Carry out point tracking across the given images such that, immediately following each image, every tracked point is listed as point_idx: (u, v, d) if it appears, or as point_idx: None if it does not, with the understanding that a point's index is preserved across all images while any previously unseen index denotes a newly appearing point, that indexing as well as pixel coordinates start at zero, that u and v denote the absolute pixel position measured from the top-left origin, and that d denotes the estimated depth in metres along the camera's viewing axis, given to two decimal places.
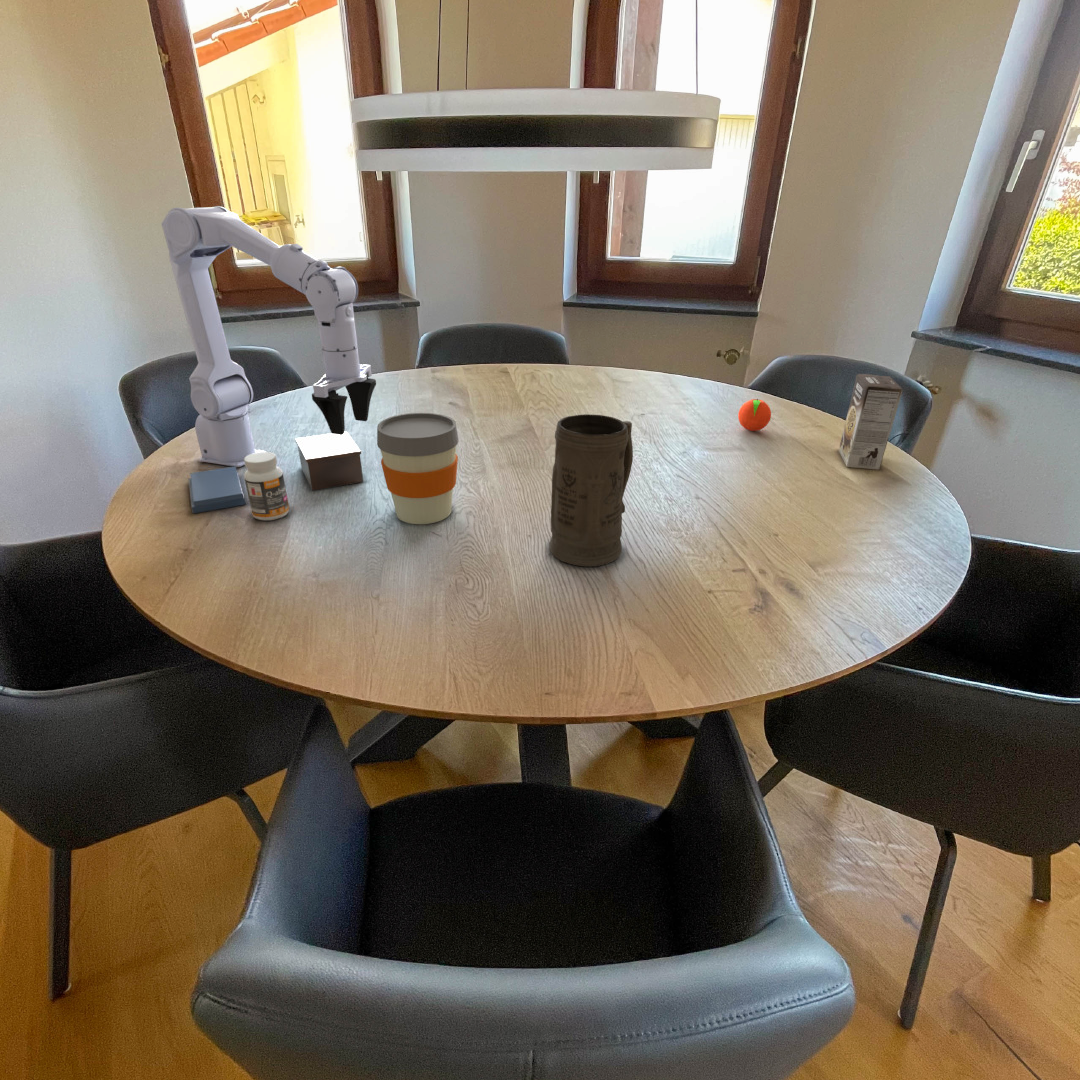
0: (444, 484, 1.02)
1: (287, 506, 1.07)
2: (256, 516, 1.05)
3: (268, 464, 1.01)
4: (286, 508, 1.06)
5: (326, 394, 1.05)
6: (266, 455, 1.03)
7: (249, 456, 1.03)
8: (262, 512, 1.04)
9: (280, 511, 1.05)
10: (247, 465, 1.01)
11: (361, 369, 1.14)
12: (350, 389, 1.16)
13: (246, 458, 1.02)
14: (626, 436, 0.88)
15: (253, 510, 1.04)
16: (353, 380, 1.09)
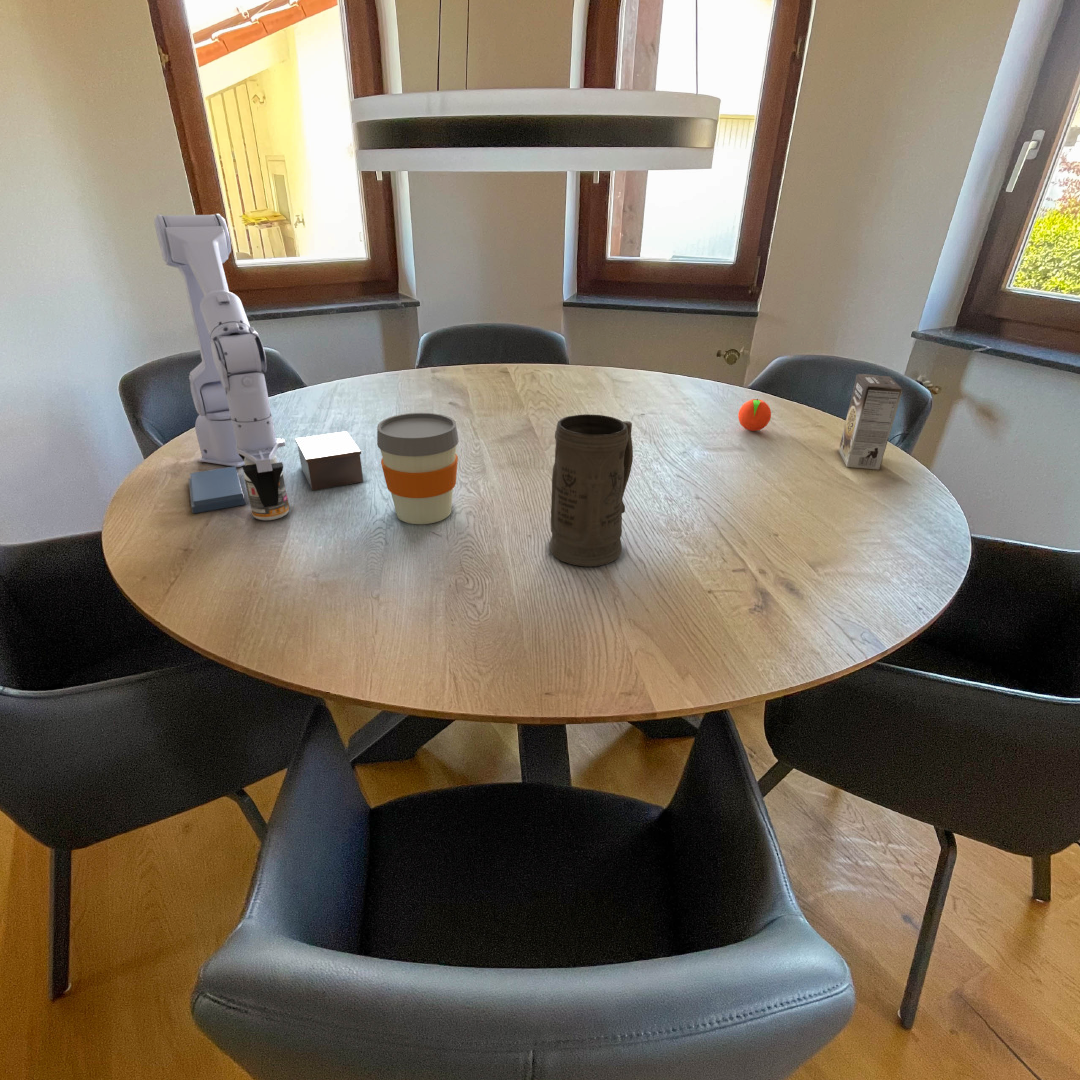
0: (444, 484, 1.02)
1: (287, 506, 1.07)
2: (256, 516, 1.05)
3: None
4: (286, 508, 1.06)
5: (271, 466, 0.97)
6: None
7: None
8: (262, 511, 1.04)
9: (280, 511, 1.05)
10: None
11: None
12: None
13: (246, 458, 1.02)
14: (626, 436, 0.88)
15: (253, 510, 1.04)
16: (277, 446, 1.02)
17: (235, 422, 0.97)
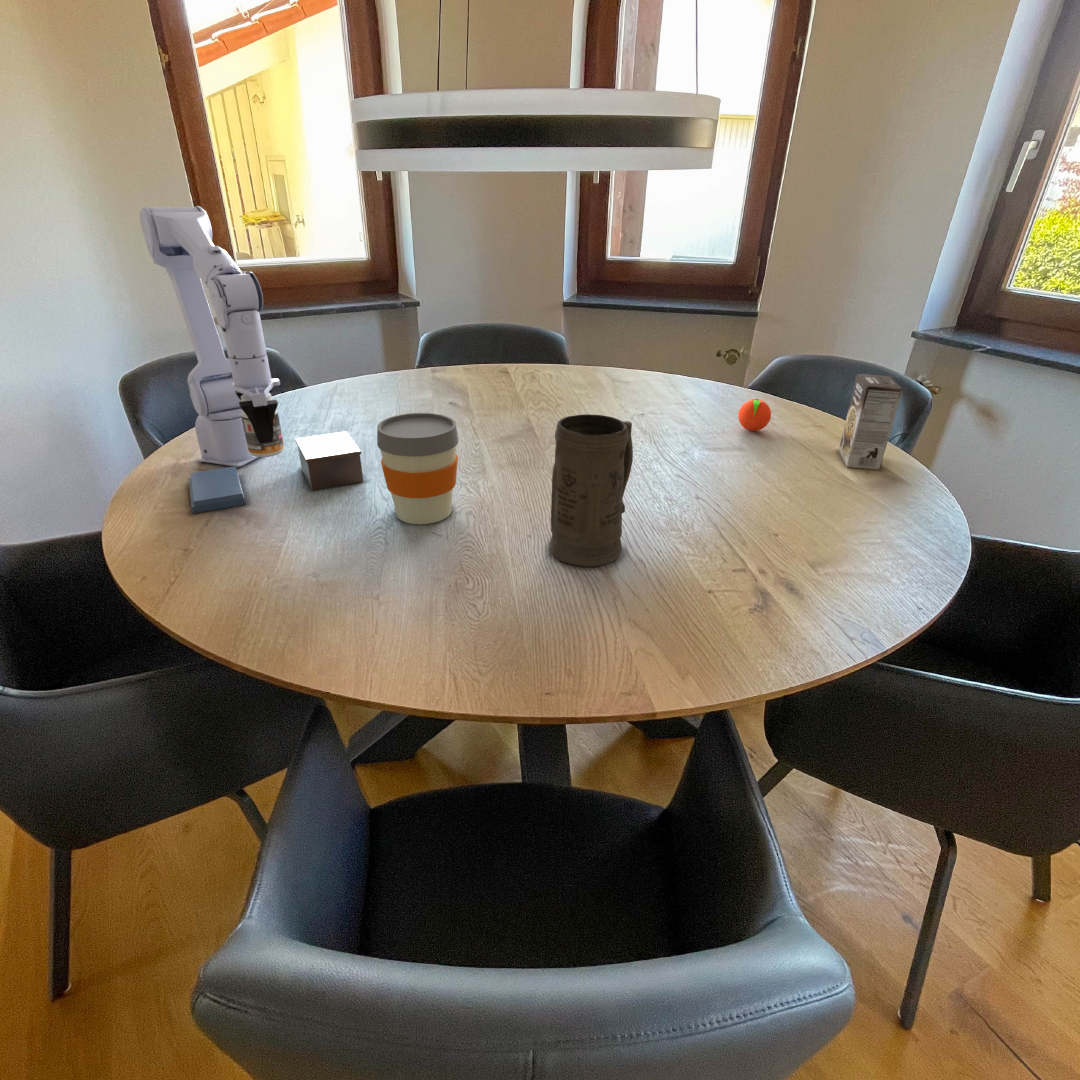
0: (444, 484, 1.02)
1: (282, 444, 1.12)
2: (252, 453, 1.10)
3: None
4: (281, 446, 1.11)
5: (266, 401, 1.02)
6: None
7: None
8: (258, 448, 1.09)
9: (275, 448, 1.10)
10: None
11: None
12: None
13: (243, 396, 1.07)
14: (626, 436, 0.88)
15: (249, 447, 1.10)
16: (272, 385, 1.07)
17: (232, 359, 1.02)
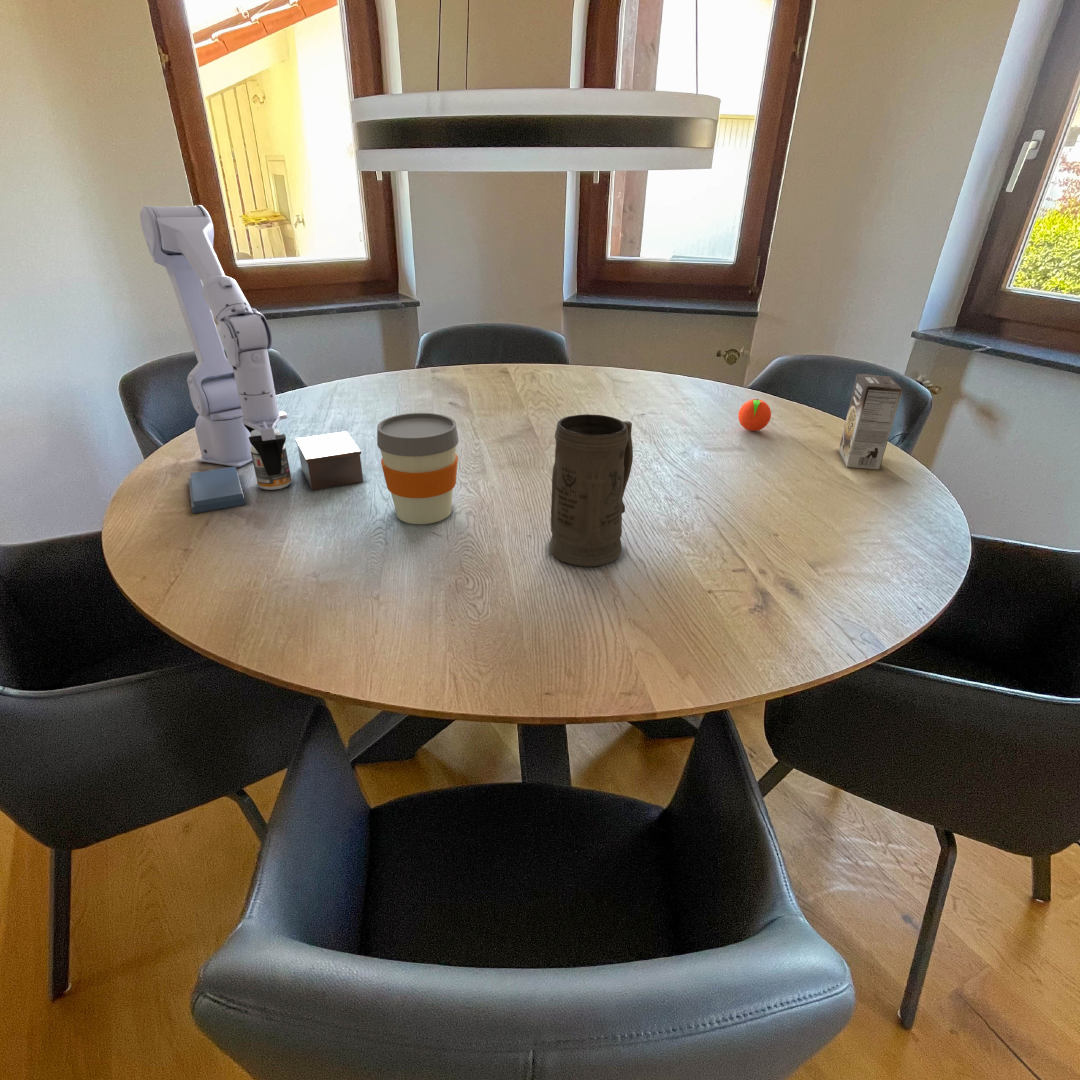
0: (444, 484, 1.02)
1: (289, 477, 1.17)
2: (261, 486, 1.15)
3: None
4: (288, 479, 1.16)
5: (274, 435, 1.07)
6: None
7: (255, 431, 1.13)
8: (266, 481, 1.14)
9: (283, 481, 1.15)
10: None
11: None
12: None
13: (252, 432, 1.12)
14: (626, 436, 0.88)
15: (258, 480, 1.15)
16: (280, 418, 1.12)
17: (241, 395, 1.07)
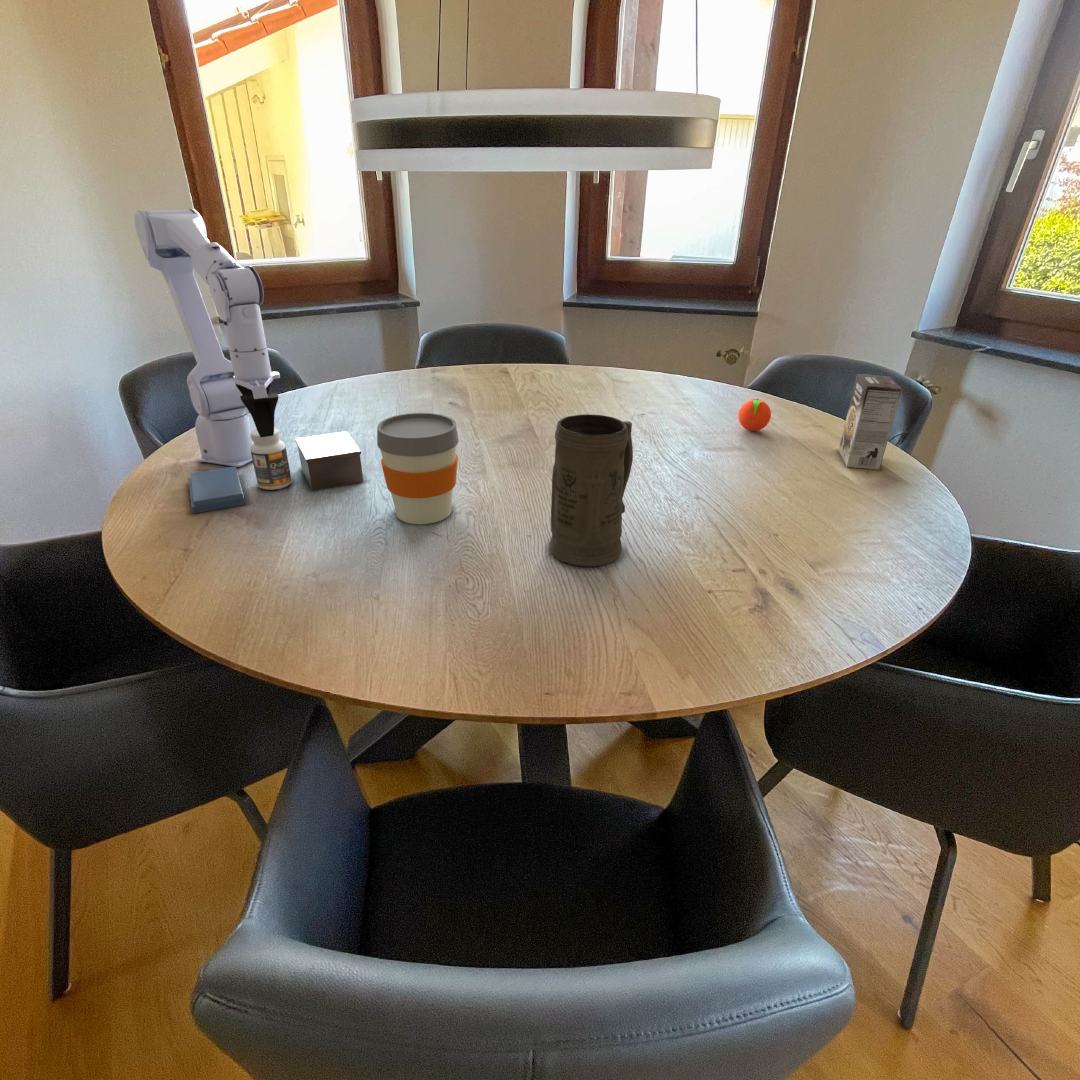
0: (444, 484, 1.02)
1: (289, 477, 1.17)
2: (261, 486, 1.15)
3: (272, 438, 1.12)
4: (288, 479, 1.16)
5: (266, 394, 1.04)
6: None
7: (255, 431, 1.13)
8: (266, 481, 1.14)
9: (283, 481, 1.15)
10: (253, 438, 1.11)
11: None
12: (246, 392, 1.12)
13: (252, 432, 1.12)
14: (626, 436, 0.88)
15: (258, 480, 1.15)
16: (272, 378, 1.08)
17: (233, 352, 1.04)
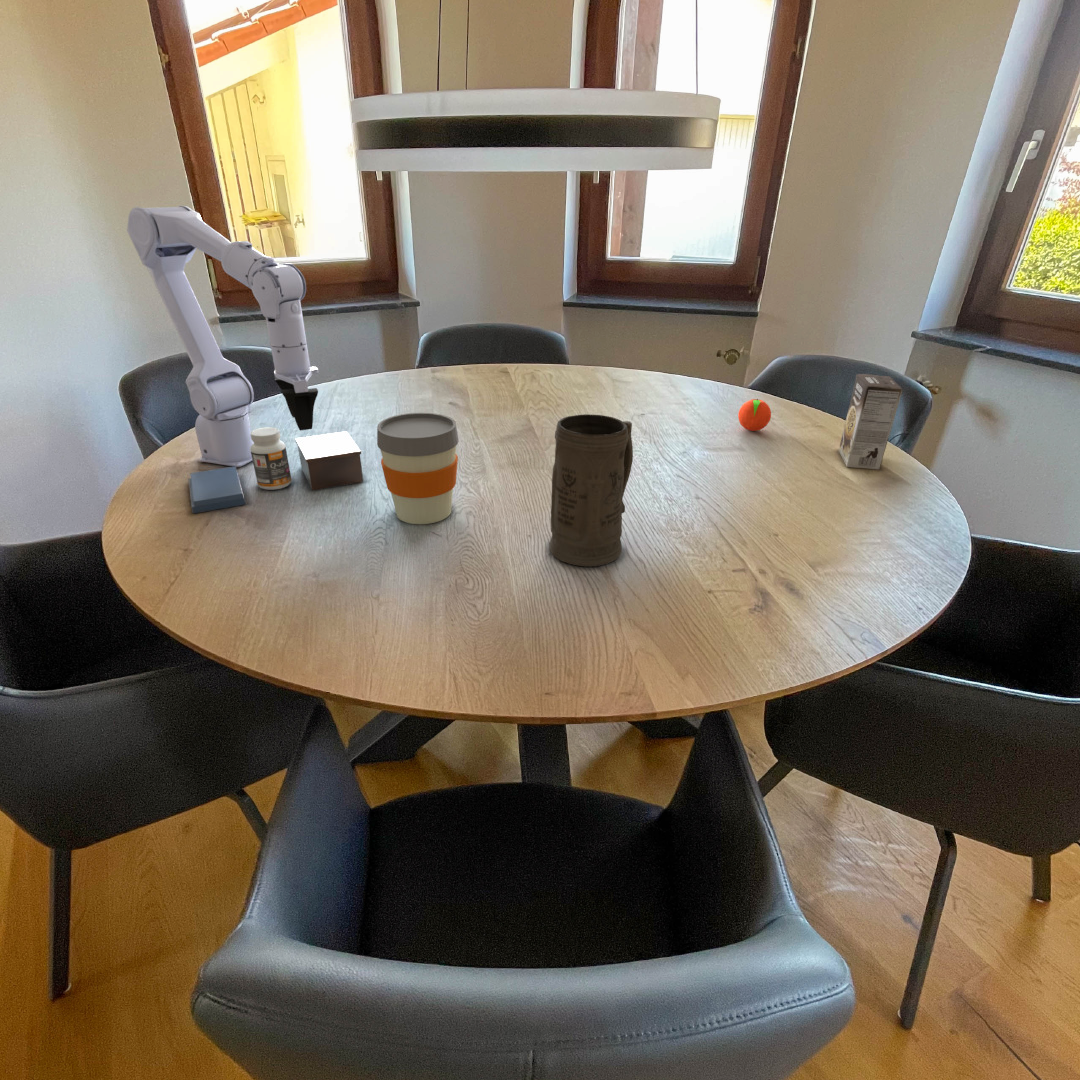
0: (444, 484, 1.02)
1: (289, 477, 1.17)
2: (261, 486, 1.15)
3: (272, 438, 1.12)
4: (288, 479, 1.16)
5: (307, 388, 1.07)
6: (270, 430, 1.13)
7: (255, 431, 1.13)
8: (266, 481, 1.14)
9: (283, 481, 1.15)
10: (253, 438, 1.11)
11: None
12: (284, 387, 1.15)
13: (252, 432, 1.12)
14: (626, 436, 0.88)
15: (258, 480, 1.15)
16: (311, 373, 1.11)
17: (274, 348, 1.07)
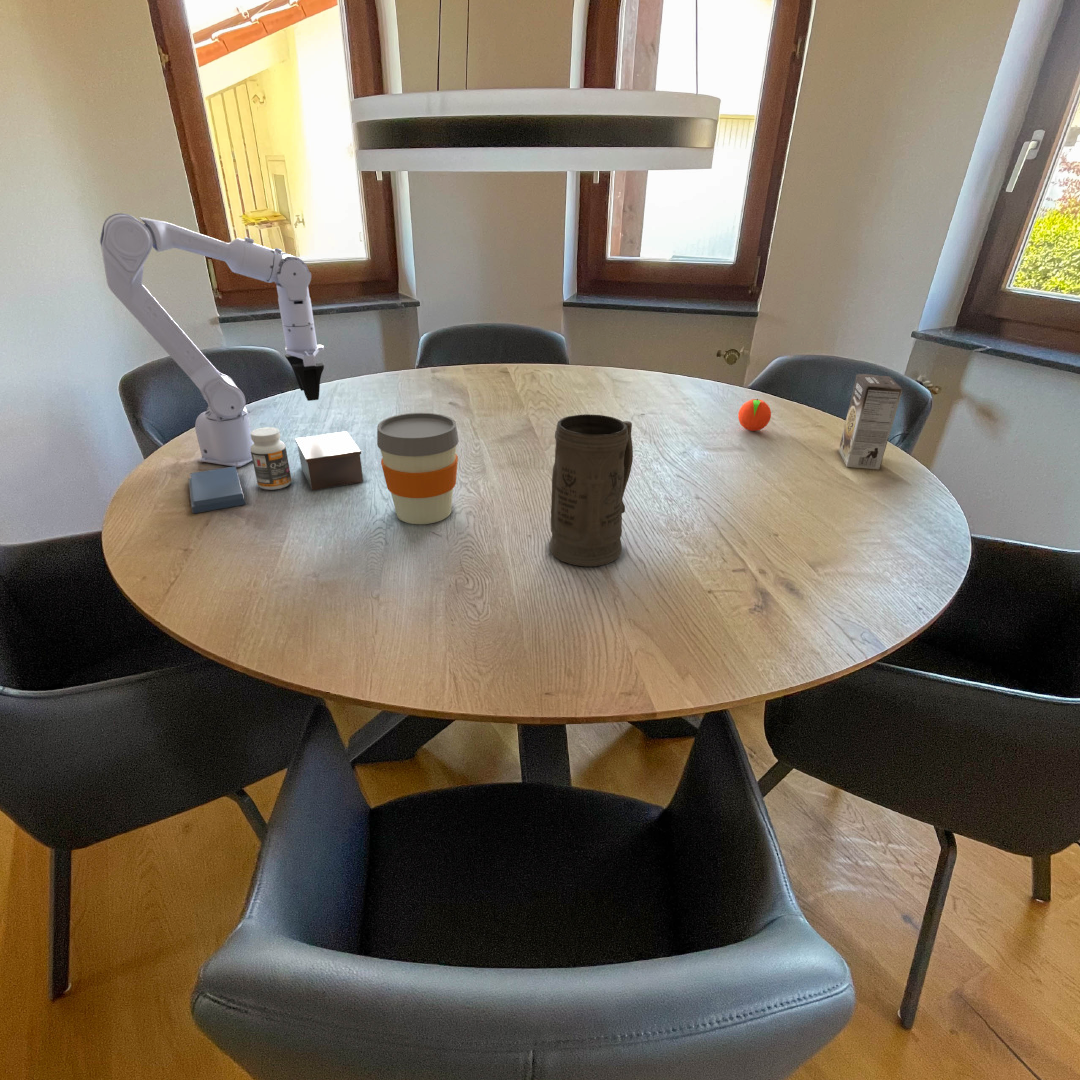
0: (444, 484, 1.02)
1: (289, 477, 1.17)
2: (261, 486, 1.15)
3: (272, 438, 1.12)
4: (288, 479, 1.16)
5: None
6: (270, 430, 1.13)
7: (255, 431, 1.13)
8: (266, 481, 1.14)
9: (283, 481, 1.15)
10: (253, 438, 1.11)
11: None
12: (294, 363, 1.30)
13: (252, 432, 1.12)
14: (626, 436, 0.88)
15: (258, 480, 1.15)
16: (318, 349, 1.26)
17: (286, 327, 1.22)
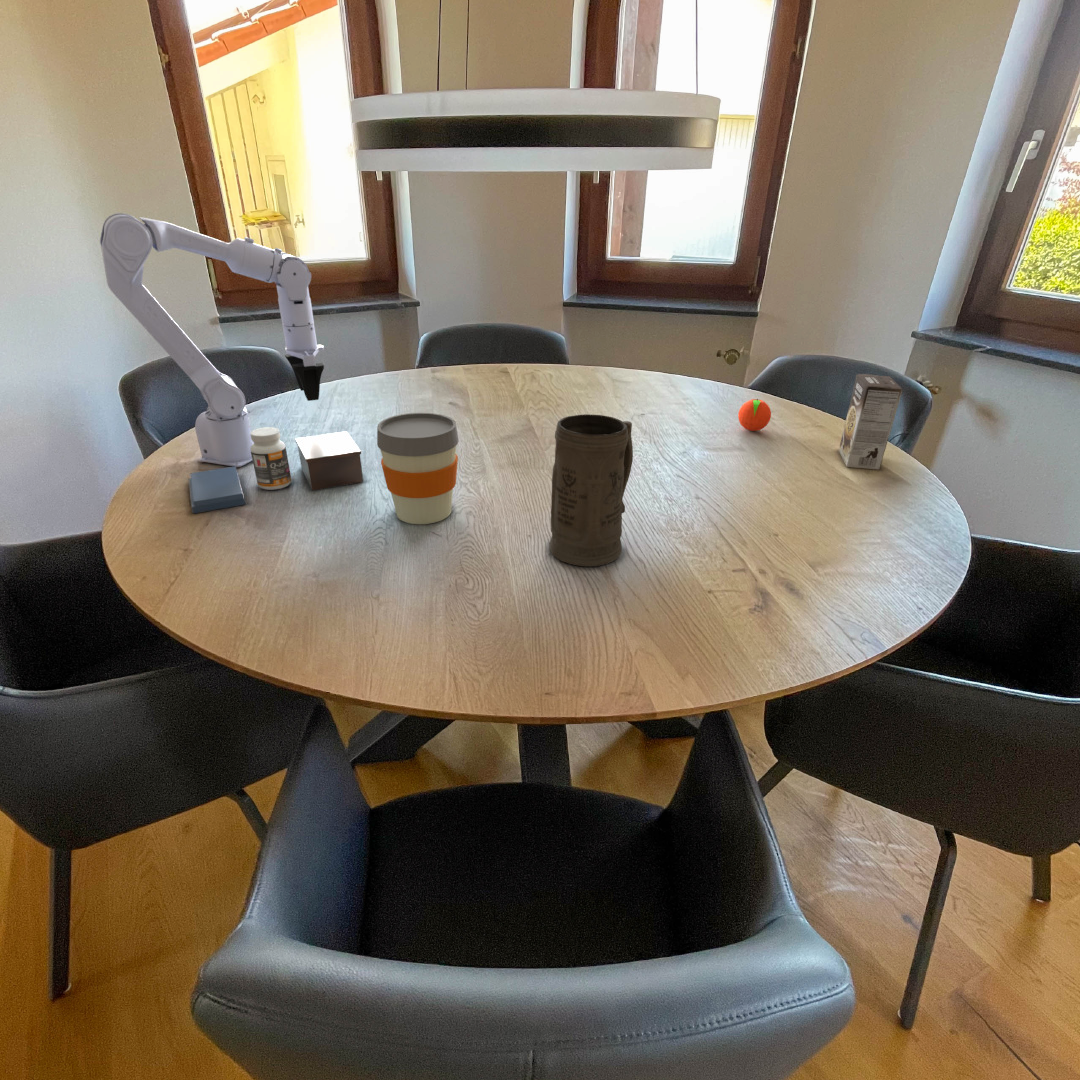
0: (444, 484, 1.02)
1: (289, 477, 1.17)
2: (261, 486, 1.15)
3: (272, 438, 1.12)
4: (288, 479, 1.16)
5: None
6: (270, 430, 1.13)
7: (255, 431, 1.13)
8: (266, 481, 1.14)
9: (283, 481, 1.15)
10: (253, 438, 1.11)
11: None
12: (294, 363, 1.30)
13: (252, 432, 1.12)
14: (626, 436, 0.88)
15: (258, 480, 1.15)
16: (318, 349, 1.26)
17: (286, 327, 1.22)
